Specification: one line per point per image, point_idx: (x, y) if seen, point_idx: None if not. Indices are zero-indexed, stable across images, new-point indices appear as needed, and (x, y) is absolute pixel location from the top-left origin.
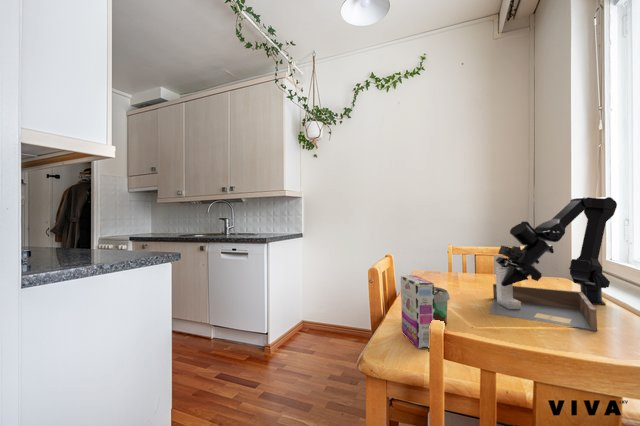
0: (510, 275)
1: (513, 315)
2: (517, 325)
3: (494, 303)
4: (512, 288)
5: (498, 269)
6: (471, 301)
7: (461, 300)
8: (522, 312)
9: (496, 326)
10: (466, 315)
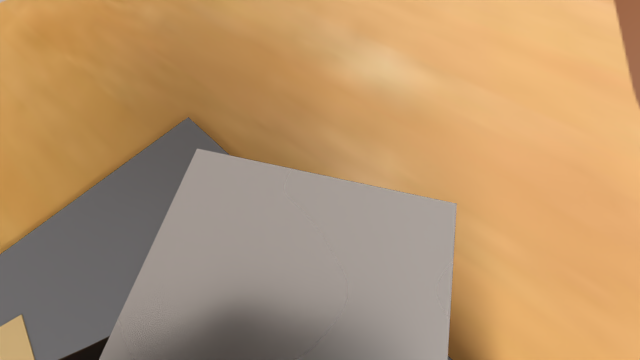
0: (70, 354)
1: (108, 216)
2: (27, 148)
3: None
4: None
5: (285, 182)
6: (449, 194)
7: (475, 151)
8: None
9: (71, 66)
10: (229, 42)
